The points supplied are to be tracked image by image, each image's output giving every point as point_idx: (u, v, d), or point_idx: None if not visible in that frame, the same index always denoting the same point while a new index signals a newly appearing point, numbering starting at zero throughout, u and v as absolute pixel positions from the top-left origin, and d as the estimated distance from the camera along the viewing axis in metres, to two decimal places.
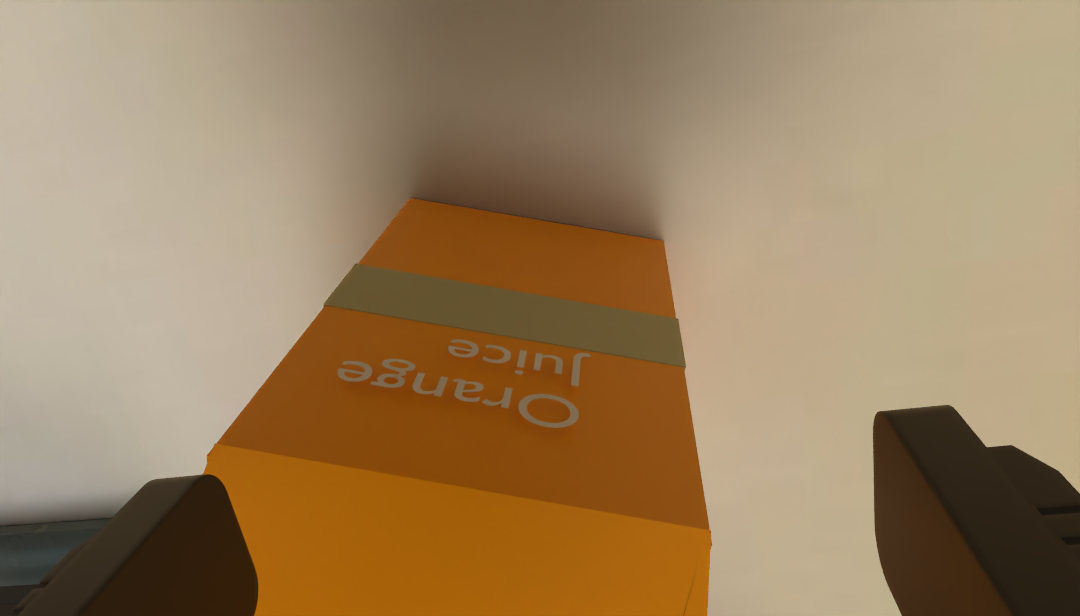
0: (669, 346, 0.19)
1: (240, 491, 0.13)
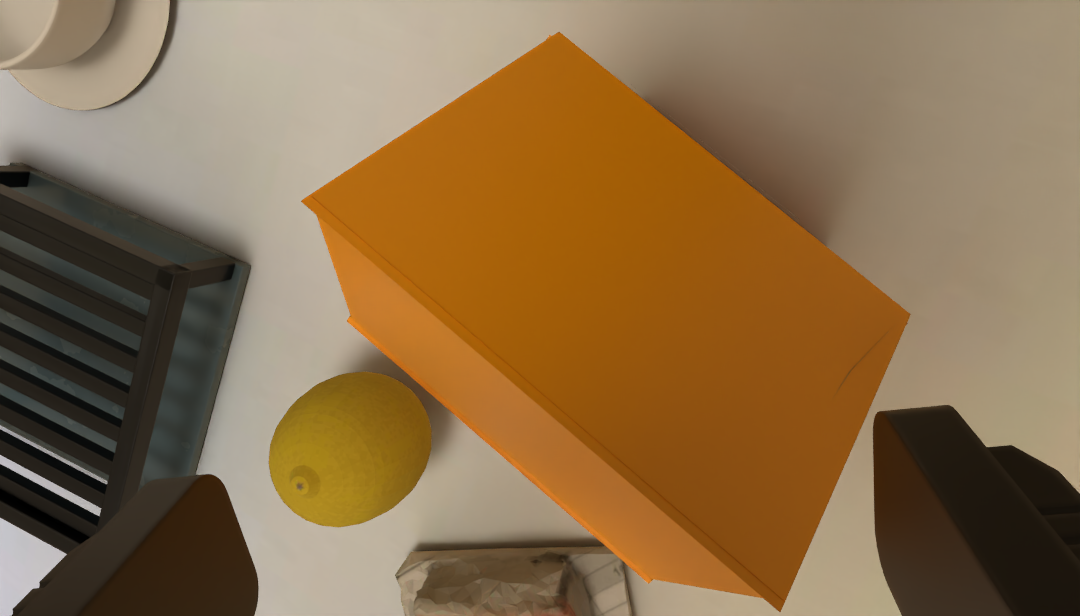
0: None
1: (567, 67, 0.15)
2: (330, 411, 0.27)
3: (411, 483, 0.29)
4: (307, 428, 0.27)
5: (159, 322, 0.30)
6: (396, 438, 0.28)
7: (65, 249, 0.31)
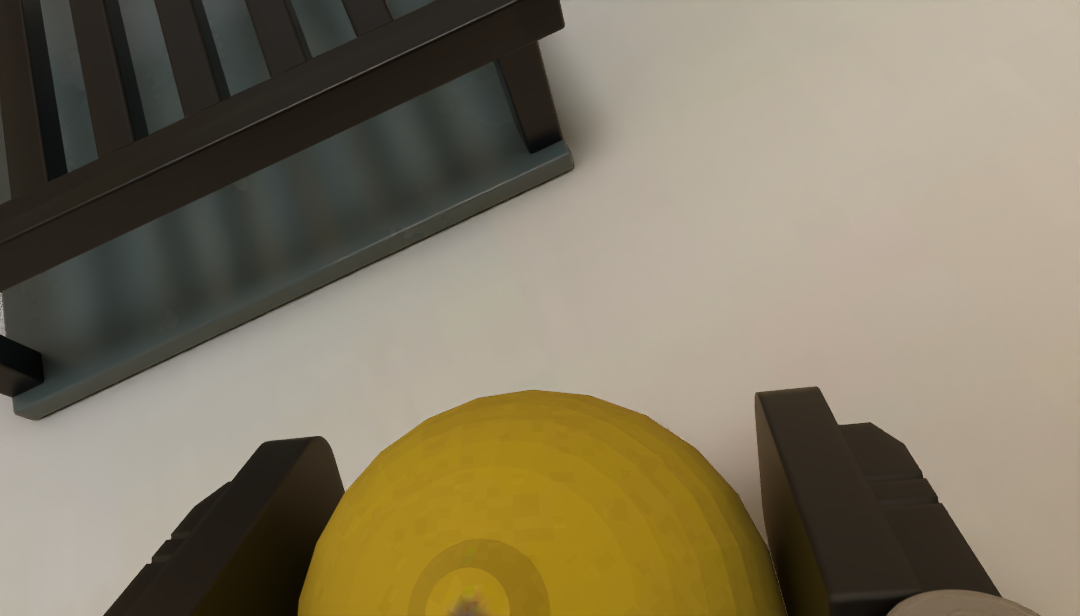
0: None
1: None
2: (696, 488, 0.08)
3: None
4: (612, 468, 0.07)
5: (431, 32, 0.12)
6: None
7: None
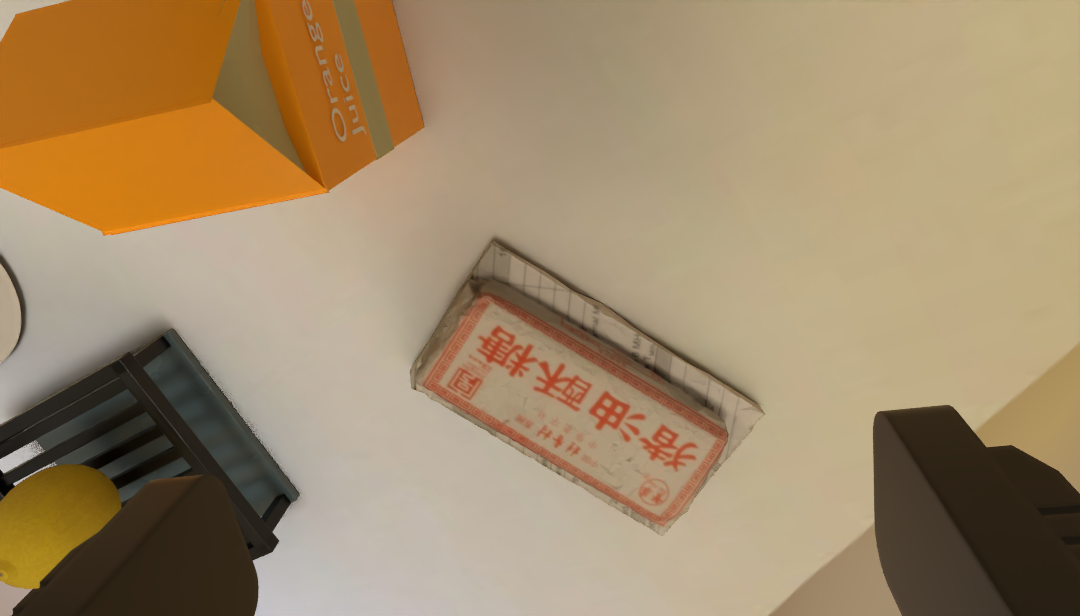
0: None
1: (27, 23, 0.25)
2: None
3: (89, 511, 0.40)
4: None
5: (141, 391, 0.42)
6: (41, 500, 0.39)
7: (68, 412, 0.43)
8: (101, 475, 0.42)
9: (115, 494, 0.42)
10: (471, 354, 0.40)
